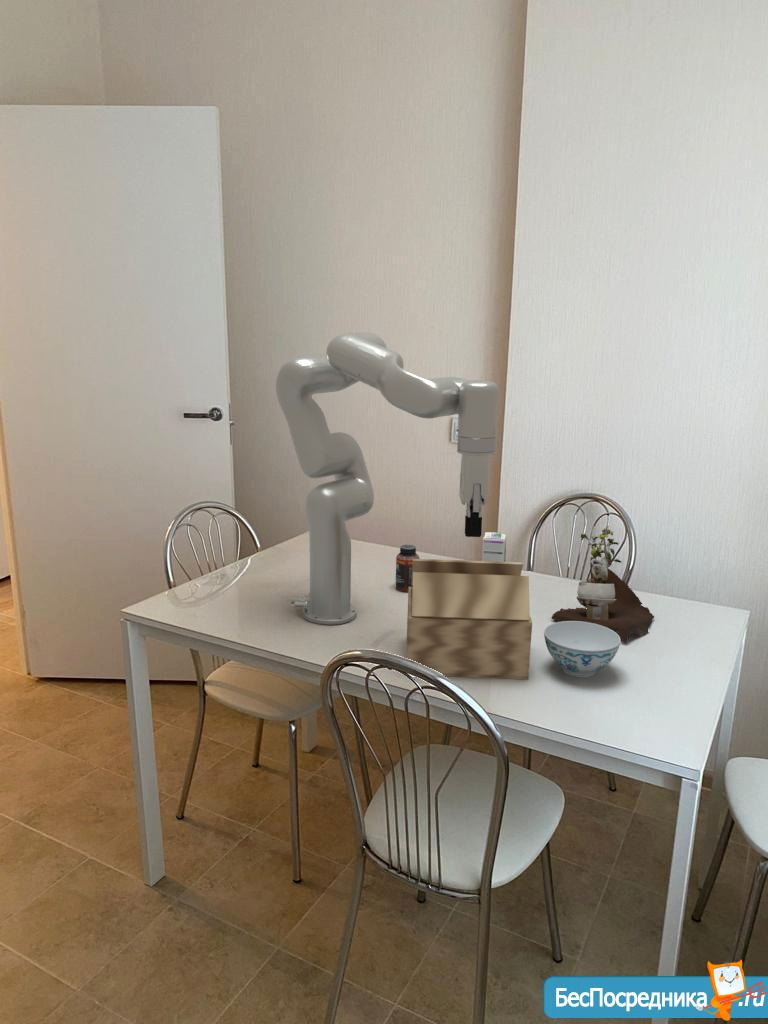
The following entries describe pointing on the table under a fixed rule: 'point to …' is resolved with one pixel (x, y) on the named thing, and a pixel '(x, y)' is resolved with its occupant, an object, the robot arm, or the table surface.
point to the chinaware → (581, 646)
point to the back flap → (466, 567)
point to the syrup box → (494, 547)
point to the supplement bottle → (405, 567)
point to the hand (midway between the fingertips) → (472, 535)
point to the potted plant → (607, 597)
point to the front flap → (470, 596)
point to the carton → (470, 645)
